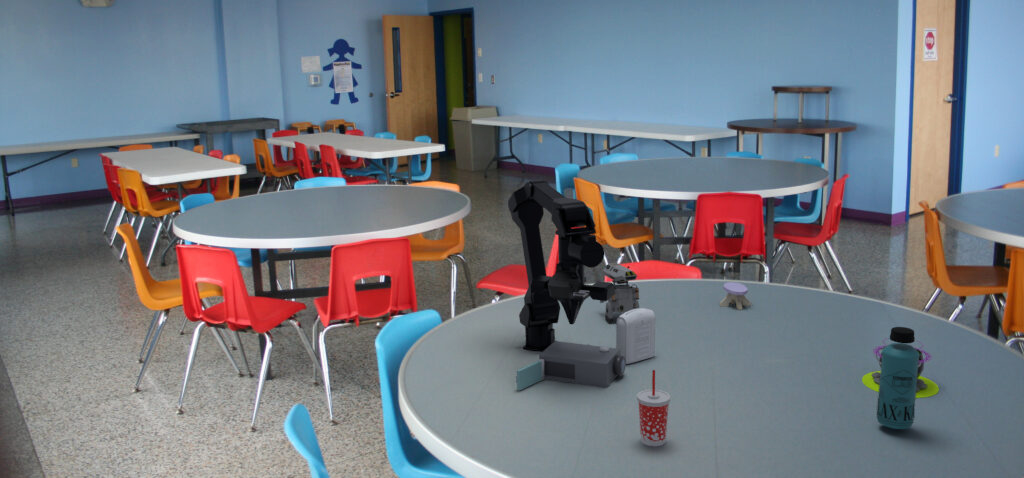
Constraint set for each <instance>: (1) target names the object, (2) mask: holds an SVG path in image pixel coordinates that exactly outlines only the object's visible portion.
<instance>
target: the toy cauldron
mask: <svg viewBox="0 0 1024 478" xmlns="http://www.w3.org/2000/svg"><path fill="white" fill-rule="evenodd" d="M887 339H889V340H890V337H888V338H887V337H886V338H884V339H883V340H882V343H884V344H883V345H878V346H877V347H875V348H874V347H873V349H872V353H873V354H874V355H875V359H876V360H877V362H878V364H879V368H880V369H881V365H882V354H883V353H882V352H881V353H880V352H879V351H881V350H883V348H885V347H886V346H888V345H889V344H887V343H885V341H886V340H887ZM914 342H918V343H919V344H921V347H914V348H915V349H916V350H917V351H918V353H919V361H918V372H917V385H916V391H917V393H916V394H917V395H916V396H915V399H925V398H930V397H933V396H935V395H936V394H938V393H939V391H940V389H939V385H938V384H937V383H936V382H935V381H933V380H931V379H929V378H927V377H925V376H922V374H923V371H924V370H925V369H924V367H925V363H927V362H930V361H931V360H932V359H933V357H932V354H930V352H926V351H925V350H924V349H923V348H924V344H922V342H921V341H919V340H916V339H915V341H914ZM923 354H924V355H925V358H923ZM878 357H879V358H878ZM880 376H881V370H877V371H871V372H868V373H866V374H864V375H863V376H862V378H861V381H862V383H863V385H864V386H866V388H868V389H870V390H872V391H874V392H877V393H879V387H878V386H879V385H880V382H879V381H880V380H879V379H880Z"/></svg>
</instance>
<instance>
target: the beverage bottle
mask: <svg viewBox="0 0 1024 478" xmlns="http://www.w3.org/2000/svg"><path fill="white" fill-rule="evenodd" d="M889 340H890V341H891V342H893V343H890V344H887V345H888V346H887V345H885V346H886V347H885V346H884V347H885V348H883V349H881V350H882V352H881V353H883V354H882V365H881V368H880V371H881V376H880V379H879V380H880V381H879V382H880V385H879V386H878V387H879V392H878V397H877V399H876V400H877V402H876V403H877V408H876V418H877V422H878V423H879V424H881V425H882V426H884V427H887V428H890V429H895V430H897V429H898V430H906V429H910V428H911V427H912V426H913V424H914V423H915V422H914V421H915V419H914V418H915V407H916V400H917V398H915V396H916V395H917V394H916V393H917V391H916V385H917V372H918V361H919V353H918V351H917V350H916V349H915V348H916V347H914V346H913V345H910V344H912V343H915V342H916V341H915V340H916V337H915V331H914V329H912V328H909V327H906V326H905V327H904V326H893V327H891V329H890V335H889Z"/></svg>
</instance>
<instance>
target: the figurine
mask: <svg viewBox="0 0 1024 478" xmlns="http://www.w3.org/2000/svg"><path fill="white" fill-rule="evenodd" d="M630 268H631V267H630V266H629V265H627V267H626V266H624V265H621V264H620V263H618V262H609V263H608V264H607V265H605V267H604V268H603V269H602V274H603V276H605V277H607V278H609V279H611V280H612V282H611V283H612V284H613V285H614V287H615V294H614V295H613V296H612V297H611V298H609V299H608V300H606V301H601V300H599V303H600V304H603V303H605V302H606V303H605V312H604V313H605V314H604V319H605V321H606V322H607V323H608V324H613V323H614V318H613V315H614V314H613V313H625V312H628V311H630V310H633V309H638V308H640V304H639V300H640V293H639V292H640V291H639V290H640V289H639V287H638V286H637V285H636V284H632V285H631V286H630V284H629V282H630V281H636V280H637V277H638V274H636V273H635V271H634V270H632V269H630ZM633 286H635V287H633Z"/></svg>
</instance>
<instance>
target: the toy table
mask: <svg viewBox="0 0 1024 478" xmlns="http://www.w3.org/2000/svg"><path fill="white" fill-rule="evenodd" d="M723 290H724V291H725V292H727V294H726V296H725V297H724V298H723V299H721V301H720V302H719V306H720V307H721V308H722V307H725V308H726V307H730V304H731V305H732V304H733V305H734V304H735V307H736V309H737V310H738V311H743V306H744V307H745V306H747V307H748V306H749V307H750V306H751V305H752V302H751V301H750V300H749V299H748V298H747V297H746V296H745V295H746V294H748V287H747V285H744V284H743V283H740V282H733V281H732V282H731V281H730V282H729V281H727V282H724V283H723Z"/></svg>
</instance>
